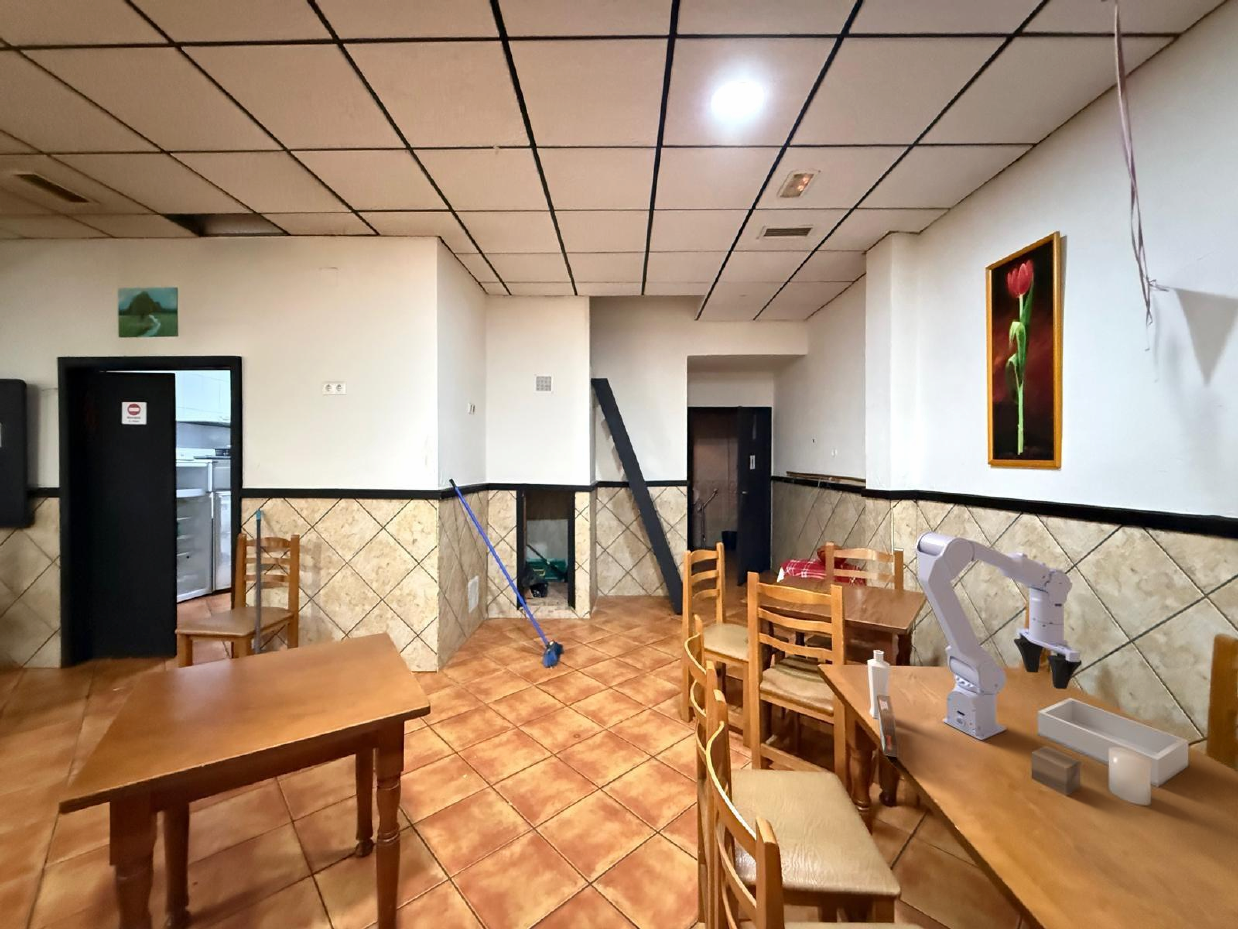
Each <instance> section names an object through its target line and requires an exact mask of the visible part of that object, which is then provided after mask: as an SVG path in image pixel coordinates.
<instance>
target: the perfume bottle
mask: <svg viewBox="0 0 1238 929" xmlns="http://www.w3.org/2000/svg"><path fill="white" fill-rule="evenodd" d="M884 653H885V652H884V651H881V650H879V649H878V650H873V658H872V659H869V660H867V670H868V671H867V672H868V685H869V698H870V706H871V707H870V710H869V714H870V716H871V718H873V719H877V720H878V712H879V709H878V702H877V695H884V696H889V695H888V694H889V682H890V666H891V665H890V663H888V662H886V661H885V660H884Z"/></svg>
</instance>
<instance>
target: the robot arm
mask: <svg viewBox="0 0 1238 929" xmlns="http://www.w3.org/2000/svg"><path fill="white" fill-rule="evenodd" d="M913 550H914V552H915V554H916V556H917V568H918V569H917V570H918V571H917V573H918V576H917V577H918V581H919V583H920V585H921V587H922V590H923V591H924V593H925V595H926V598H927V600H928V602H929V604H930V606H931V608H932V611H933V612H934V615H935V617H936V619H937V621H938V623H939V625H940V627H941V629H942V631H943V633H944V635H945V638H946V640H947V642H948V644H949V645H948V646H946V648H945V652H946V653H945V654H946V655H947V667H948V669H949V670H950V671H951V672H952V673H953V678H954V680H955V685H954V687H953V689H952V690H951V691H950V692H949V693H948V694H947V695H946V717H945V718H943V719H942V722H943V723H945V724H947V725H949V726H951V727H953V728H955V729H957V730H959V731H961V732H963V733H965V734H967V735H969V736H971V737H974V738H976V739H977V740H980V741H983V740H986V739H987V738H989V737H992V736H995V735H997V734H998V733H1001V732H1004V731H1006V730H1007V727H1005V726H1004V725H1002V724H999V723H998V722H997V695H998V694H1000V692H1001V691H1002V690H1003V689H1004V687H1005V686H1006V683H1007V674H1006V672H1005V671H1004V669H1003V668H1002V667H1001V666H999V665H998V664H997V662H996V661H995V659H994V657H993V656H992V655H991V654H990V653H988V651H987V650H986V649H984V647H983V646H981V644H980V643H979V640H978V638H977V636H976V633H975V631H974V629H973V628H972V626H971V623H970V621H969V619H968V616H967V615H966V613H965V611H964V609H963V606H962V604H961V602H960V600H959V598H958V596H957V593H956V591H955V589H954V587H953V585H952V583H951V581H953V580H956V578H957V577H958V576H959V575H960V574H961V573H962V571H964V569H965V568H967V566H968V565H969V564H970V563H971V562H972V563H975V562H976V561H979V562H982V563H985V564H987V565H991V566H994V567H996V568H998V571H999V574H1000V575H1002V576H1003V577H1005V578H1006V579H1007V578H1008V579H1010V580H1013V581H1015V582H1018V583H1020V584H1022V585H1024V586H1025V587H1026V588H1027V589H1029V593H1028V595H1029V599H1028V600H1029V602H1028V603H1029V610H1028V611H1029V613H1028V614H1029V616H1028V618H1029V619H1028V620H1029V621H1028V622H1029V623H1028V628H1026V627H1016V637H1019V638H1014V639H1013V642H1014V644H1015V645H1016V647H1017V649H1018V650H1019V653H1020V656H1021V657H1022V661H1023V664H1024V669H1025V671H1026V672H1027V673H1034V674H1035V673H1036V674H1037V673H1038V672H1039V670H1040V663H1041V656H1042V653H1043V649H1046V650H1048V651H1050V652H1053V653H1055V654H1056V655H1055V654H1046V656H1045V657H1046V658H1047V661H1048V664H1049V667H1050V669H1051V676H1052V677H1051V678H1052V680H1051V681H1052V685H1053V688H1055V689H1058V690H1067V688H1068V685H1069V683H1070V681H1071V678H1072V676H1073V675H1074V673H1075V671H1076V670H1077V669H1078V668H1079V667H1081V666H1082V660H1081V659H1080V654H1081V653H1080V652H1079V651H1076V650H1075V649H1073V647H1071V646H1070V645H1068V644H1069V641H1068V640H1066V639H1064V636H1065V635H1064V633H1065V632H1064V628H1065V627H1064V623H1065V622H1064V618H1065V617H1064V615H1065V614H1064V612H1065V611H1064V608H1065V603H1067V602H1066V601H1068V594H1069V593H1070V592H1071V590H1072V588H1073V582H1071V579H1070V577H1069V576H1068V575H1067V574H1066V572H1064V570H1063V571H1062V570H1061V569H1057V568H1053V567H1048V566H1047V563H1045V562H1043V561H1039V560H1037V561H1035V560H1033V559H1031V558H1028V555H1027V554H1025V553H1022V552H1018V551H1017V552H1015V553H1014V552H1010V553H1006V554H1004V553H1002V552H1000V551H997V550H995V549H993V548H991V547H989V546H987V545H985V544H982V543H981V542H978V541H976V540H970V539H966V538H964V537H961V536H953V535H949V534H943V533H939V532H936V531H933V530H931V531H930V530H928V531H925V532H923V533H922V534H921V535H920V536H919V537H918V539H917V540H916V543H915V544H914V547H913Z"/></svg>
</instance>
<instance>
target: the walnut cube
mask: <svg viewBox="0 0 1238 929" xmlns="http://www.w3.org/2000/svg"><path fill="white" fill-rule="evenodd" d="M1031 779H1032V780H1034V781H1035V782H1038V783H1040V784H1041V785H1043V786H1046V787H1047V788H1049V789H1051V790H1054V791H1056V792H1058V793H1059V794H1061V795H1063V796H1065V797H1067V796H1069V795H1070V794H1073V793H1074V792H1075V791H1077V790H1079V789H1080V788H1081V760H1079V759H1077V758H1074V757H1073V756H1071V755H1068V754H1065V753H1063V752H1062V751H1059V750H1056V749H1055V748H1052V747H1051V746H1048V745H1044V746H1042V747H1039V748H1038V749H1036V750H1034V751H1032V752H1031Z"/></svg>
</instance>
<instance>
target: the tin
mask: <svg viewBox="0 0 1238 929" xmlns="http://www.w3.org/2000/svg"><path fill="white" fill-rule="evenodd" d="M877 702H878V709H879V712H878V719H877V720H878V726H879V728H878V729H879V734H880V735H879V736H880V742H881V749H882V752H883V755H884V756H888V757H891V758H893V757H894V758H897V759H899V758H900V757H899V743H898V732H897V725H896V720H895V713H894V708H893V703H892V700H891V696H890V695H888V696H884V695H877Z"/></svg>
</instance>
